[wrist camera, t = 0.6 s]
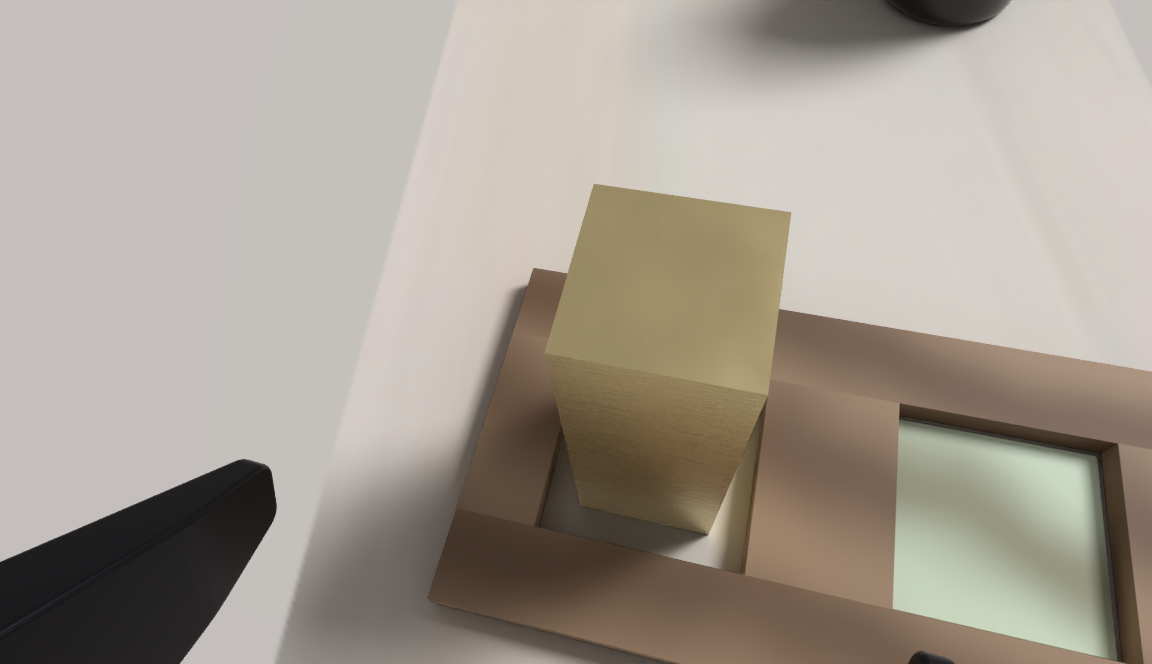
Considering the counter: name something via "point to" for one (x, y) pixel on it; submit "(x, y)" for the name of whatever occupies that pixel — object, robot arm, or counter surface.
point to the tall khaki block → (665, 350)
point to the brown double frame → (845, 511)
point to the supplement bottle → (950, 10)
